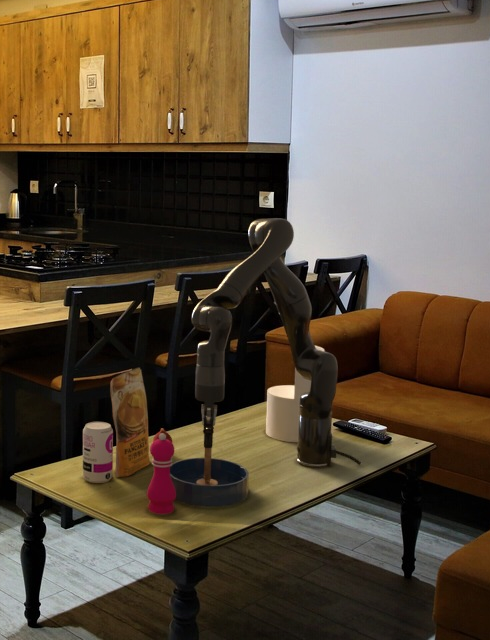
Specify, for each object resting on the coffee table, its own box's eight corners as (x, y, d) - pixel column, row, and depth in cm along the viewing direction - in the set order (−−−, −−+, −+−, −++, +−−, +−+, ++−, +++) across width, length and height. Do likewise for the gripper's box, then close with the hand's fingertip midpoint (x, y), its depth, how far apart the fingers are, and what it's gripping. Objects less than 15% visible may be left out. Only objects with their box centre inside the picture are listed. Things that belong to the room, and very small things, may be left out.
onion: (172, 451, 264) (173, 426, 263) (171, 458, 259) (172, 431, 258) (153, 451, 265) (153, 425, 264) (152, 457, 259) (152, 430, 258)
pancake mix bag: (101, 476, 243) (101, 377, 240) (138, 457, 259) (139, 364, 255) (121, 481, 239) (122, 380, 236) (158, 462, 255) (159, 367, 251)
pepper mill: (144, 505, 222) (146, 429, 220) (173, 505, 223) (174, 428, 220) (148, 517, 215) (149, 438, 213) (177, 516, 216) (179, 437, 213)
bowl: (247, 481, 241) (247, 460, 240) (248, 511, 220) (249, 488, 219) (169, 476, 243) (169, 455, 243) (163, 506, 222) (164, 483, 222)
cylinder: (320, 428, 290) (324, 344, 286) (320, 444, 273) (324, 355, 269) (267, 424, 293) (270, 341, 290) (264, 439, 277) (267, 352, 273)
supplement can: (116, 475, 244) (117, 422, 242) (106, 485, 236) (107, 431, 234) (89, 471, 246) (89, 419, 245) (78, 481, 239) (78, 428, 237)
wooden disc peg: (217, 487, 234) (219, 424, 232) (217, 495, 228) (219, 431, 226) (196, 486, 235) (198, 423, 232) (195, 494, 229) (197, 430, 227)
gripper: (224, 388, 220) (222, 455, 223) (224, 375, 234) (222, 438, 236) (194, 387, 221) (192, 454, 224) (196, 374, 235) (194, 437, 237)
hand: (208, 445), depth 230 cm, fingers closed on wooden disc peg, 2 cm apart
